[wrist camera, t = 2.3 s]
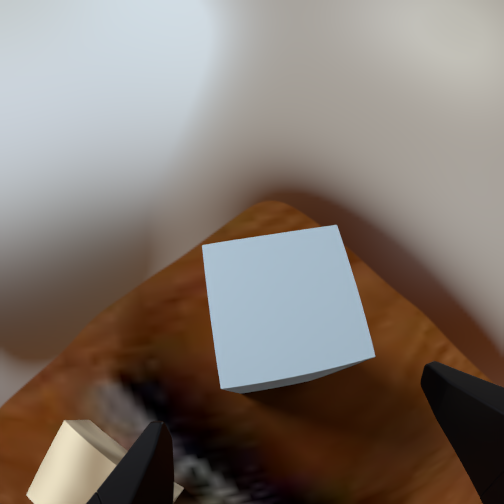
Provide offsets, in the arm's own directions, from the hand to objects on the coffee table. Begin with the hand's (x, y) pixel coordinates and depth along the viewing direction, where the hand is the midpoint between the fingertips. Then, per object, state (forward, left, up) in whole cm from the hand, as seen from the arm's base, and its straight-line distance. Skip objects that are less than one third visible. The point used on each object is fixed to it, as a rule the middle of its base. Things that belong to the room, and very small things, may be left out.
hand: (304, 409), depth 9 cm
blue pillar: (+2, -3, -13) cm, 13 cm away
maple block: (+6, +14, -13) cm, 20 cm away
